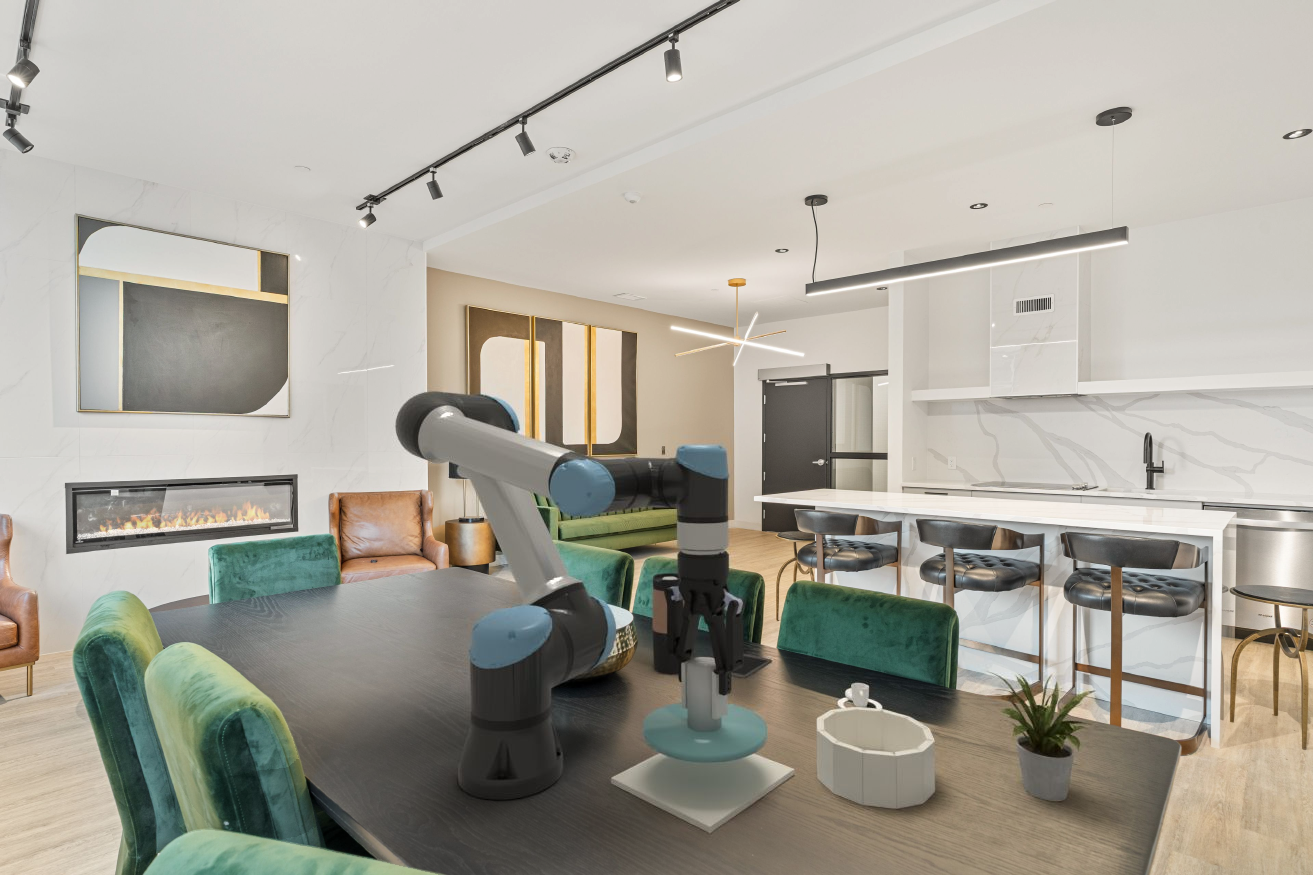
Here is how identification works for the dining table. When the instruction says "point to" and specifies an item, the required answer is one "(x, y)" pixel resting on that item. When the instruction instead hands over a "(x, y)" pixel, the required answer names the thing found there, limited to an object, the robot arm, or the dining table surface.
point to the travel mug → (662, 624)
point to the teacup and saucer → (858, 696)
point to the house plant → (1044, 743)
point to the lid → (703, 724)
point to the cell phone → (750, 666)
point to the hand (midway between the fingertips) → (704, 710)
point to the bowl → (875, 757)
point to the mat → (703, 786)
